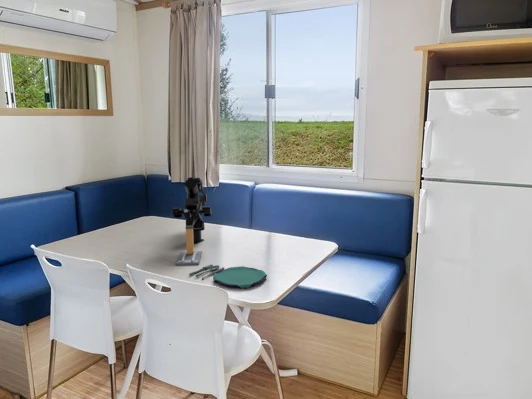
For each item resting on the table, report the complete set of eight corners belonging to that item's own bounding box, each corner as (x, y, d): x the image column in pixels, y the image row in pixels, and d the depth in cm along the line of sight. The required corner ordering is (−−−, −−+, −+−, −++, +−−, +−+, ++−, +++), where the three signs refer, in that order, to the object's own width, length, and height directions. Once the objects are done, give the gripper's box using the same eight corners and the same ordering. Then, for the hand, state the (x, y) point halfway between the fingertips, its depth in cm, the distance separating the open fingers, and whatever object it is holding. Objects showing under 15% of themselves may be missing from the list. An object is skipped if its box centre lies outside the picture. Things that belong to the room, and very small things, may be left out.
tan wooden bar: (187, 252, 191) (186, 225, 188) (194, 252, 191) (193, 225, 189) (186, 254, 189) (185, 226, 186) (193, 254, 189) (192, 226, 186)
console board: (180, 253, 194) (180, 250, 193) (202, 253, 194) (201, 249, 194) (175, 265, 178) (175, 261, 178) (199, 264, 179) (198, 260, 178)
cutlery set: (247, 294, 149) (247, 288, 149) (184, 278, 164) (184, 273, 164) (274, 277, 166) (274, 271, 165) (215, 264, 181) (215, 259, 181)
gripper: (170, 191, 197) (167, 220, 190) (209, 190, 197) (208, 219, 190) (175, 203, 207) (172, 231, 199) (212, 201, 207) (211, 229, 199)
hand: (191, 227), depth 196 cm, fingers closed
